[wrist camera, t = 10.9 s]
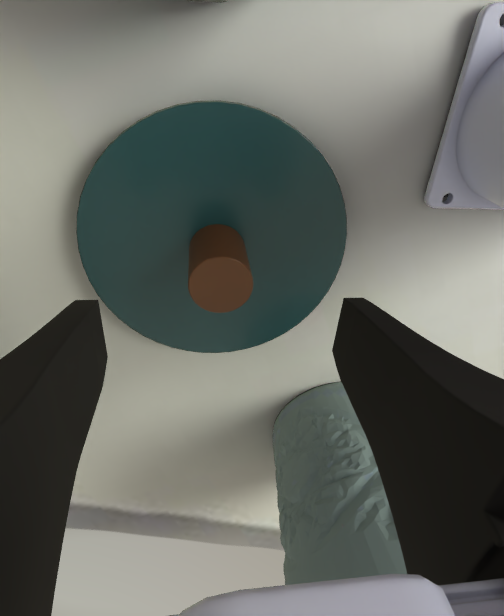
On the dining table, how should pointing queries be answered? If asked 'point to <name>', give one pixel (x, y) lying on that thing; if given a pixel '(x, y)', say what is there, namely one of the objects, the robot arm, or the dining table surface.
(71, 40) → the dining table surface
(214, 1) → the pot
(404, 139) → the dining table surface
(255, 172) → the lid
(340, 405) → the green embossed cup
